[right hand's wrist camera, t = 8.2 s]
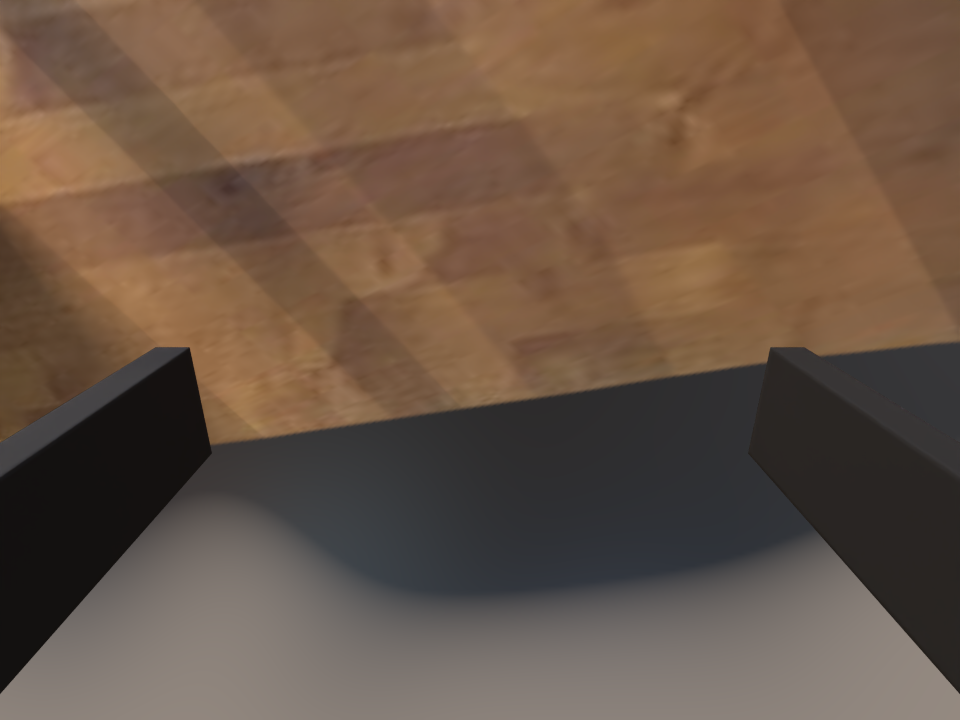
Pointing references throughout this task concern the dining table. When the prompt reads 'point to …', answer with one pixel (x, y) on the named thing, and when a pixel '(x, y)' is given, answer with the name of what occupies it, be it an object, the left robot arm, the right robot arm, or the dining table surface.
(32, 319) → the dining table surface
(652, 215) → the dining table surface
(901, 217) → the dining table surface
